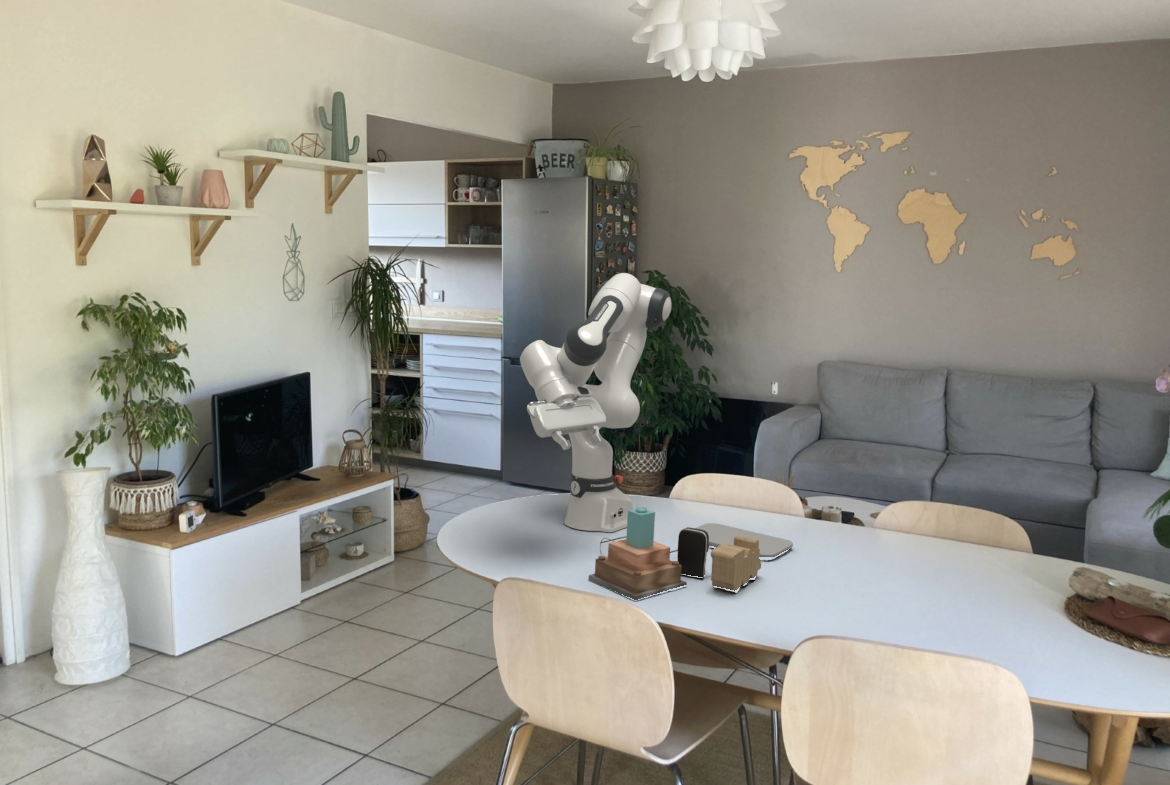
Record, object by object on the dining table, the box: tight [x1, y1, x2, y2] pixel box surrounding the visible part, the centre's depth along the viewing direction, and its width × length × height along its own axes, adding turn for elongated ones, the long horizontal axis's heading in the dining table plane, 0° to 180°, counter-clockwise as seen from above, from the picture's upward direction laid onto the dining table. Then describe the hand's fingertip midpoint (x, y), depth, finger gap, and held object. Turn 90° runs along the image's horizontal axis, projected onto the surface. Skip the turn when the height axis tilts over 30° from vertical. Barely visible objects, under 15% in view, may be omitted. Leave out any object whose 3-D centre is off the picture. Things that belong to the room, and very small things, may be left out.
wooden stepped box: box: [588, 538, 688, 600], centre depth 216 cm, size 16×16×9 cm
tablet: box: [695, 522, 794, 557], centre depth 249 cm, size 16×26×2 cm, turn 54°
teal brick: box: [625, 506, 656, 549], centre depth 215 cm, size 4×4×9 cm
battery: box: [677, 526, 710, 578], centre depth 223 cm, size 7×4×11 cm, turn 64°
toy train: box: [710, 535, 762, 591], centre depth 218 cm, size 6×17×10 cm, turn 147°
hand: (582, 446), depth 223 cm, fingers open, 8 cm apart
